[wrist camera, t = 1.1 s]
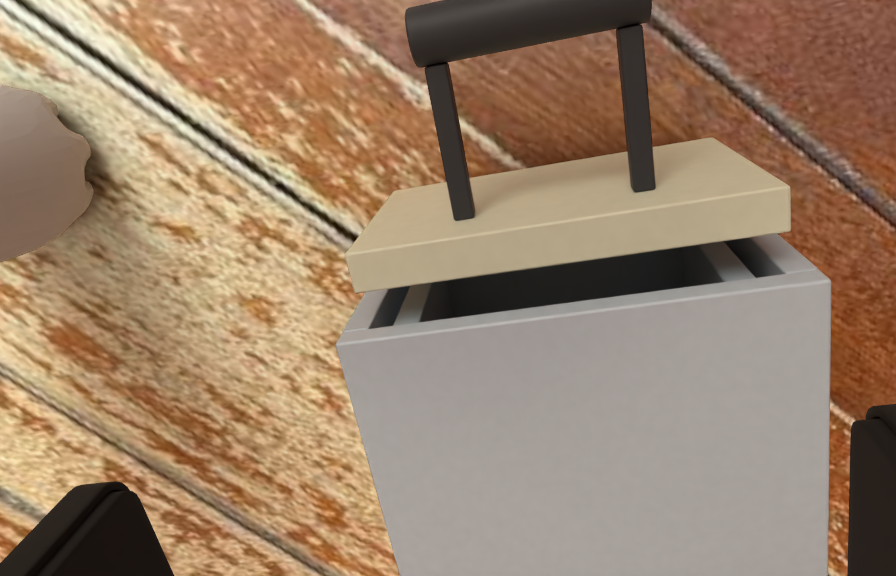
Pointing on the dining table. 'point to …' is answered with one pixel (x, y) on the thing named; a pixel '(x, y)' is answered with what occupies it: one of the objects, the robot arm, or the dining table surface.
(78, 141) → the bottle
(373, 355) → the gray box
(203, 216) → the dining table surface
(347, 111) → the dining table surface
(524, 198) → the drawer
